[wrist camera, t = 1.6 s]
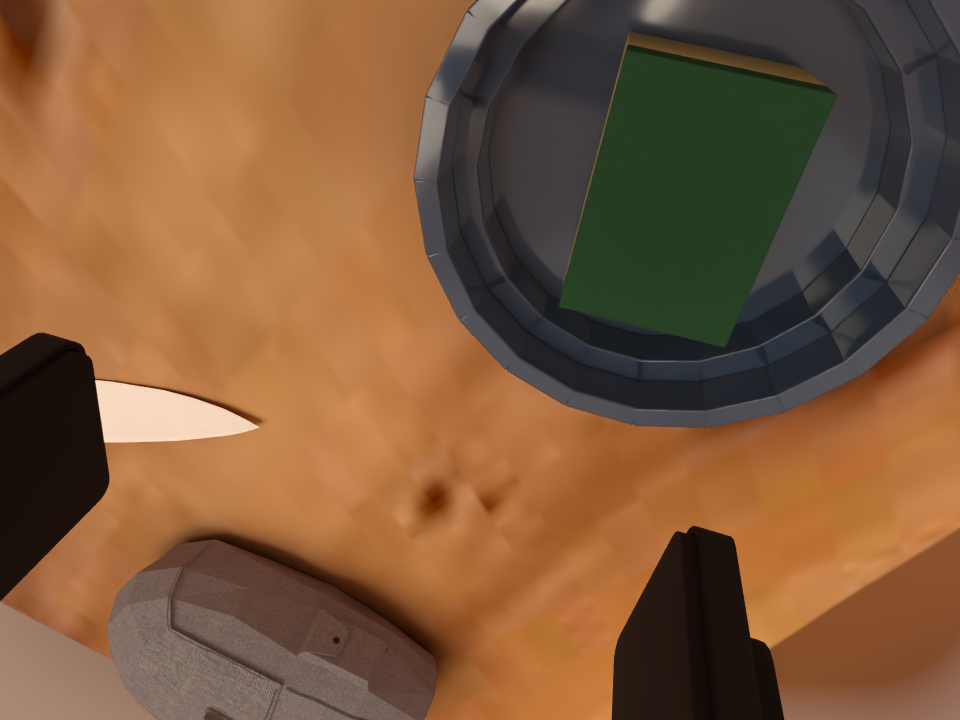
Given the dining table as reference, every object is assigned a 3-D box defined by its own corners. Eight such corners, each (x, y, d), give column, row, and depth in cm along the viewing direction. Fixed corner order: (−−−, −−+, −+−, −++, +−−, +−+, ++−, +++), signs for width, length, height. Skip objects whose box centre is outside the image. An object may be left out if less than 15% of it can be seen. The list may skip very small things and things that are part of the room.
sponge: (629, 30, 21) (626, 49, 18) (804, 67, 21) (838, 94, 17) (570, 255, 26) (558, 307, 22) (713, 289, 25) (725, 348, 22)
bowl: (621, -251, 18) (615, -299, 15) (1072, 85, 20) (1168, 118, 17) (380, 226, 27) (339, 271, 24) (707, 426, 29) (716, 497, 26)
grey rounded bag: (472, 637, 41) (176, 481, 39) (438, 779, 34) (75, 599, 32) (378, 731, 49) (130, 608, 47) (335, 861, 42) (42, 723, 40)
